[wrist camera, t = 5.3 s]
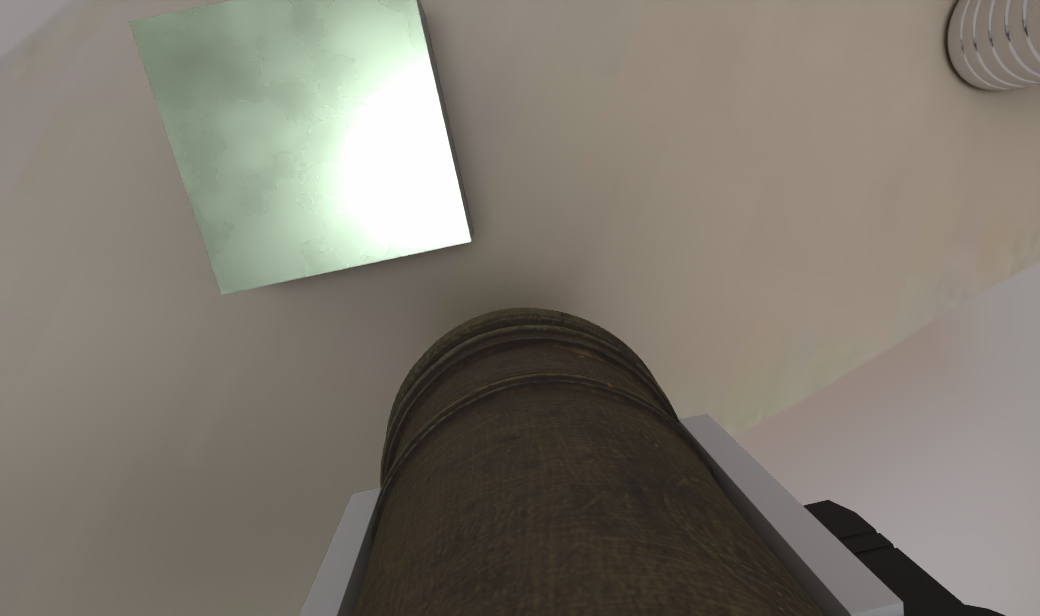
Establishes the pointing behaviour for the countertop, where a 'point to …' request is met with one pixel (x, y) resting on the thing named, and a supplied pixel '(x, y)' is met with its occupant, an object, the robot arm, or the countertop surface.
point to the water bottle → (996, 43)
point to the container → (554, 488)
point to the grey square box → (306, 134)
